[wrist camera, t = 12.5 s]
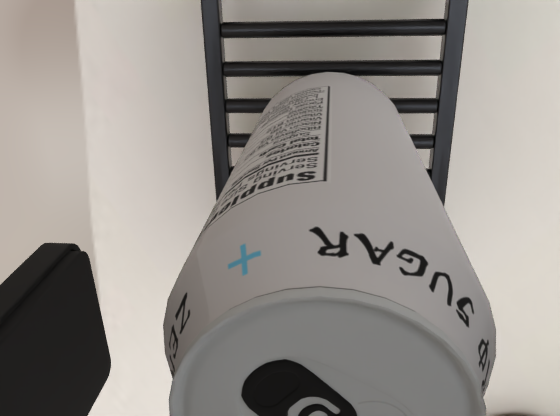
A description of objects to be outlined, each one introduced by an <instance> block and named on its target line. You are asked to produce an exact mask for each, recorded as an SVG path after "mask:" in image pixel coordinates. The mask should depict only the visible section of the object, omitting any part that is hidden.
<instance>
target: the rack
mask: <svg viewBox="0 0 560 416" xmlns="http://www.w3.org/2000/svg"><path fill="white" fill-rule="evenodd" d="M468 1H469V0H446V3H445V13H444V19H402V20H339V21H276V22H223V18H222V3H221V0H201V11H202V24H203V36H204V49H205V62H206V75H207V87H208V100H209V113H210V125H211V138H212V151H213V164H214V176H215V189H216V202H217V200H218V198H219V196H220V194H221V192H222V190H223V188H224V187H225V185H226V183H227V181H228V179H229V177H230V175H231V173H232V171H233V169H234V167H235V166H232V160H231V147H241V148H245V146H246V144H247V142H248V140H249V138H250V136H251V134H252V133H230V129H229V113H263V111H264V109H265V108H266V106H267V105H268V104H269V102H270V101H271V99H272V98H234V99H228V97H227V81H226V77H280V76H308V75H311V74H317V73H324V72H338V73H346V74H350V75H354V76H438V81H437V91H436V98H389V99H390V100H391V102H392V103H393V104H394V105H395V107H396V109H397V111H398V113H434V121H433V131H432V134H409V135H410V137H411V140H412V142H413V144H414V146H415V148H416V149H431V150H430V160H429V169H428V168H425V169H426V171H427V173H428V175H429V177H430V179H431V181H432V183H433V185H434V188H435V190H436V192H437V194H438V196H439V198H440V200H441V202H442V204H443V206H444V203H445V195H446V186H447V178H448V169H449V161H450V153H451V144H452V136H453V127H454V119H455V110H456V102H457V94H458V85H459V77H460V68H461V60H462V51H463V43H464V34H465V26H466V18H467V9H468ZM370 36H442V42H441V52H440V60H348V61H231V62H225V50H224V38H292V37H370Z"/></svg>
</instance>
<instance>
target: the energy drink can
mask: <svg viewBox="0 0 560 416" xmlns="http://www.w3.org/2000/svg"><path fill="white" fill-rule="evenodd" d="M163 329H164V345H165V354H166V358H167V361H168V365H169V368H170V371H171V374H172V378H173V381H172V386H171V391H170V396H169V410H170V416H486V407H485V403H484V399H483V396H484V394H485V391H486V389H487V387H488V383H489V379H490V376H491V372H492V368H493V365H494V361H495V357H496V328H495V324H494V319H493V315H492V311H491V307H490V303H489V300H488V298H487V296H486V294H485V292H484V290H483V288H482V286H481V284H480V282H479V279H478V277H477V275H476V273H475V271H474V269H473V267H472V265H471V263H470V261H469V259H468V256H467V254H466V252H465V250H464V248H463V246H462V244H461V242H460V240H459V238H458V236H457V234H456V231H455V229H454V227H453V225H452V223H451V221H450V219H449V217H448V215H447V213H446V211H445V208H444V206H443V204H442V202H441V200H440V198H439V196H438V194H437V192H436V190H435V188H434V185H433V183H432V181H431V179H430V177H429V175H428V173H427V171H426V169H425V167H424V165H423V163H422V160H421V158H420V156H419V154H418V152H417V150H416V148H415V146H414V144H413V142H412V140H411V137H410V135H409V133H408V131H407V129H406V127H405V125H404V123H403V121H402V119H401V117H400V115H399V113H398V111H397V109H396V107H395V105H394V104H393V103H392V102H391V100H390V99H389V98H388V97H387V96H386V94H385V93H384V92H382V91H381V90H380V89H379V88H377V87H376V86H375V85H373V84H372V83H370V82H368V81H366V80H364V79H362V78H360V77H357V76H354V75H350V74H346V73H338V72H324V73H317V74H311V75H308V76H305V77H303V78H300V79H297V80H295V81H294V82H292V83H290V84H289V85H287V86H285V87H284V88H283V89H282V90H281V91H280V92H278V93H277V94H276V95H275V96H274V97H273V98H272V99H271V101H270V102H269V104H268V105H267V106H266V108H265V109H264V111H263V113H262V115H261V117H260V119H259V121H258V123H257V124H256V126H255V128H254V130H253V132H252V134H251V136H250V138H249V140H248V142H247V144H246V146H245V148H244V150H243V152H242V154H241V155H240V157H239V159H238V161H237V163H236V165H235V167H234V169H233V171H232V173H231V175H230V177H229V179H228V181H227V183H226V185H225V187H224V188H223V190H222V192H221V194H220V196H219V198H218V200H217V202H216V204H215V206H214V208H213V210H212V212H211V214H210V216H209V218H208V219H207V221H206V223H205V225H204V227H203V229H202V231H201V233H200V235H199V237H198V239H197V241H196V243H195V245H194V247H193V249H192V251H191V252H190V254H189V256H188V258H187V260H186V262H185V264H184V266H183V268H182V270H181V272H180V274H179V276H178V278H177V280H176V283H175V285H174V287H173V289H172V291H171V294H170V296H169V298H168V302H167V307H166V313H165V318H164V324H163Z"/></svg>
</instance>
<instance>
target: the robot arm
mask: <svg viewBox="0 0 560 416" xmlns="http://www.w3.org/2000/svg"><path fill="white" fill-rule="evenodd" d="M110 368H111V359H110V354H109V349H108V344H107V340H106V335H105V330H104V325H103V321H102V316H101V311H100V307H99V302H98V297H97V293H96V288H95V283H94V279H93V274H92V270H91V264H90V260H89V257H88V254H87V253H86V252H84V251H81V250H80V248H79V247H78V246H77V245H76V244H67V243H44V244H43V245H41V246H40V247H39V248H38V249H37V250H36V251H35V252H34V253H33V254H32V255H31V256H30V257H29V258H28V259H27V260H25V261H24V263H22V264H21V265H20V266H19V267H18V268H17V269H16V270H15V271H14V272H13V273H12V274H11V275H10V276H9V277H8V278H7V279H6V280H5V281H4V282H3V283H2V284H1V285H0V416H87V415H88V413H89V412H90V410H91V408H92V406H93V404H94V402H95V401H96V399H97V397H98V395H99V393H100V391H101V390H102V388H103V386H104V384H105V382H106V380H107V378H108V376H109V373H110Z"/></svg>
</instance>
